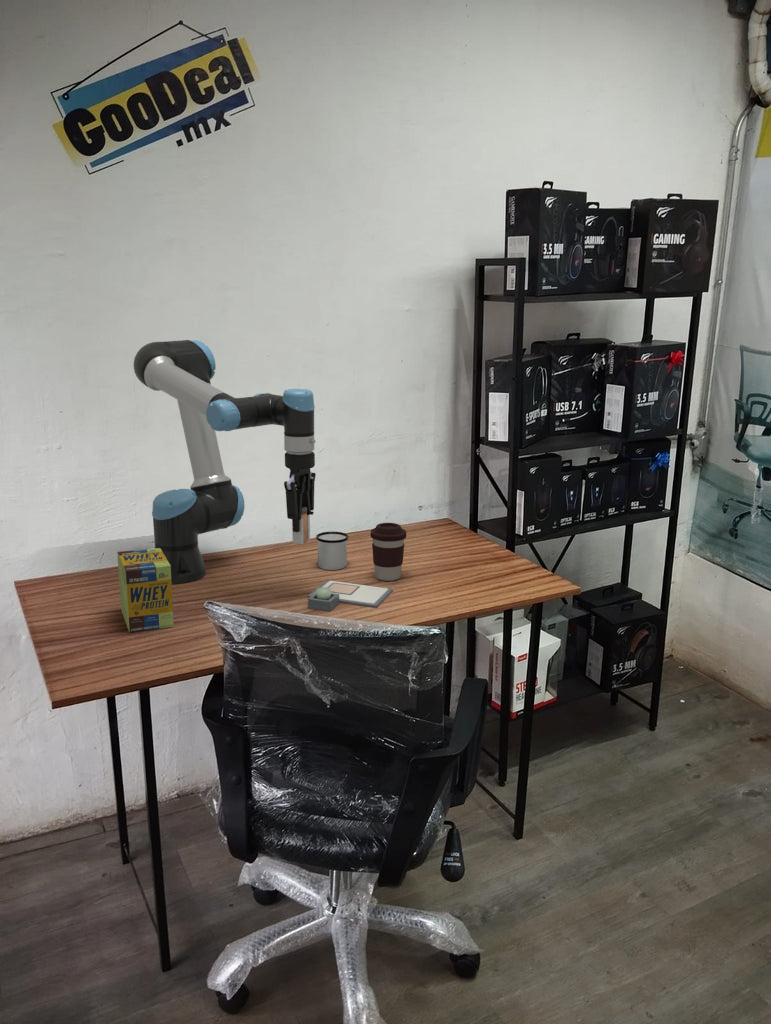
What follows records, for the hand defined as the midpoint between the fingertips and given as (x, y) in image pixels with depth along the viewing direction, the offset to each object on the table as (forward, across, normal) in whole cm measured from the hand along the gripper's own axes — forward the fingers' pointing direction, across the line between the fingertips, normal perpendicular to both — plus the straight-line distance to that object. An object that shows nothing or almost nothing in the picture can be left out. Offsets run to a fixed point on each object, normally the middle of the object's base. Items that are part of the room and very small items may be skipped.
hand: (301, 541), depth 218 cm
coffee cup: (+15, +22, -15) cm, 31 cm away
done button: (+14, -4, -8) cm, 17 cm away
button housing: (+15, -4, -8) cm, 18 cm away
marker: (0, 0, 0) cm, 0 cm away
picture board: (+15, +6, -11) cm, 20 cm away
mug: (+15, +26, +4) cm, 30 cm away
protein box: (+15, -29, +28) cm, 43 cm away
